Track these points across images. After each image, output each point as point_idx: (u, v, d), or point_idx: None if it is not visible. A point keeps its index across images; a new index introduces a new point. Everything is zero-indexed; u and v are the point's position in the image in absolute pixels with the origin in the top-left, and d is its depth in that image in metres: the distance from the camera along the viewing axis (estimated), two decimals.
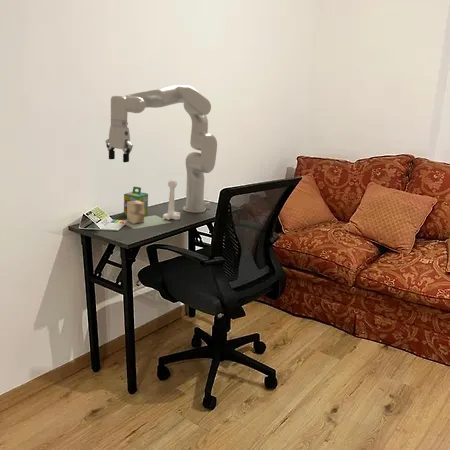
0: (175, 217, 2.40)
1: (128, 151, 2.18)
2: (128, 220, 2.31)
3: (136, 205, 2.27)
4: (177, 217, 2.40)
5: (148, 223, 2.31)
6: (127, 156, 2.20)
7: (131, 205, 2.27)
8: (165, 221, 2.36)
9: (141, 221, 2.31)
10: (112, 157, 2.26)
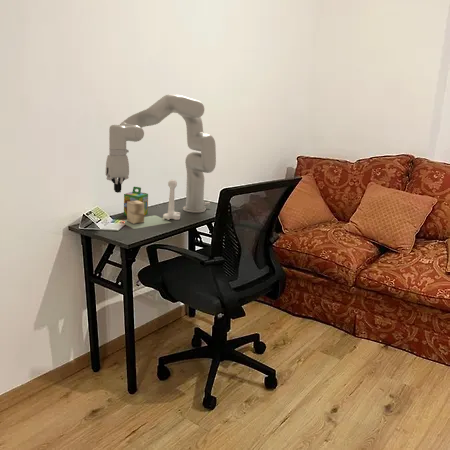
0: (175, 217, 2.40)
1: (123, 180, 2.21)
2: (128, 220, 2.31)
3: (136, 205, 2.27)
4: (177, 217, 2.40)
5: (148, 223, 2.31)
6: None
7: (131, 205, 2.27)
8: (165, 221, 2.36)
9: (141, 221, 2.31)
10: None
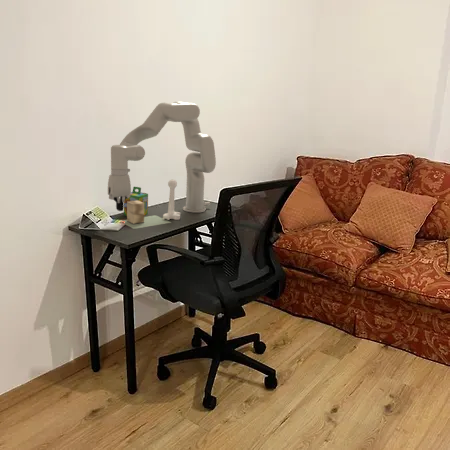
0: (175, 217, 2.40)
1: (125, 199, 2.25)
2: (128, 220, 2.31)
3: (136, 205, 2.27)
4: (177, 217, 2.40)
5: (148, 223, 2.31)
6: None
7: (131, 205, 2.27)
8: (165, 221, 2.36)
9: (141, 221, 2.31)
10: None
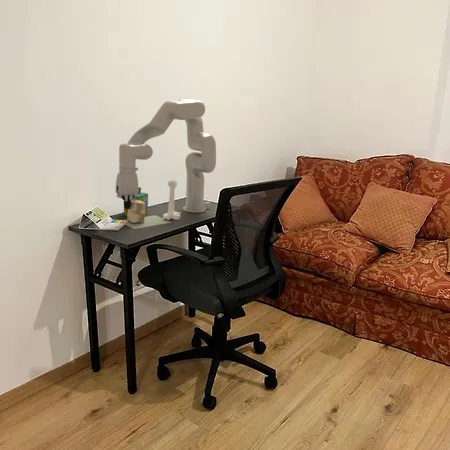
0: (175, 217, 2.40)
1: (132, 197, 2.27)
2: (128, 219, 2.31)
3: (137, 204, 2.27)
4: (177, 217, 2.40)
5: (148, 223, 2.31)
6: None
7: (132, 204, 2.27)
8: (165, 221, 2.36)
9: (141, 221, 2.31)
10: None
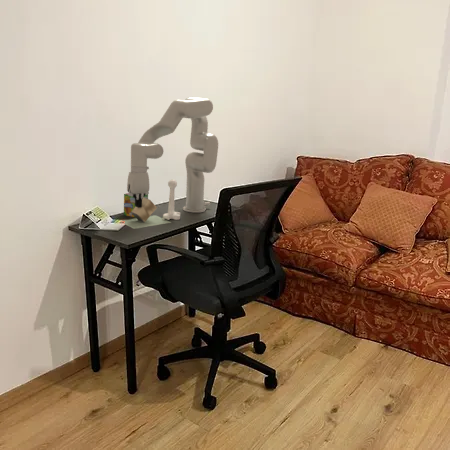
0: (175, 217, 2.40)
1: (143, 196, 2.31)
2: (133, 211, 2.32)
3: (151, 203, 2.32)
4: (177, 217, 2.40)
5: (148, 223, 2.31)
6: None
7: (147, 200, 2.32)
8: (165, 221, 2.36)
9: (143, 219, 2.31)
10: None
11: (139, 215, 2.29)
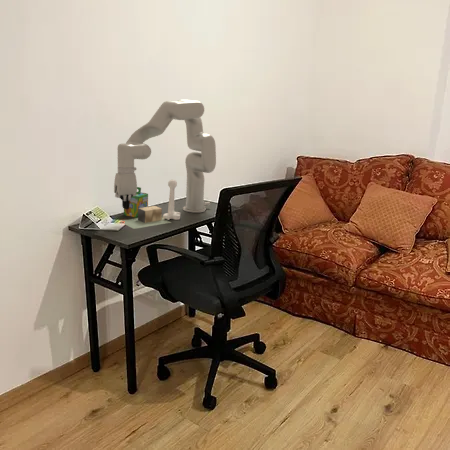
0: (175, 217, 2.40)
1: (131, 197, 2.27)
2: (140, 208, 2.34)
3: (160, 212, 2.36)
4: (177, 217, 2.40)
5: (148, 223, 2.31)
6: None
7: (158, 207, 2.37)
8: (165, 221, 2.36)
9: (145, 219, 2.32)
10: None
11: (145, 213, 2.31)
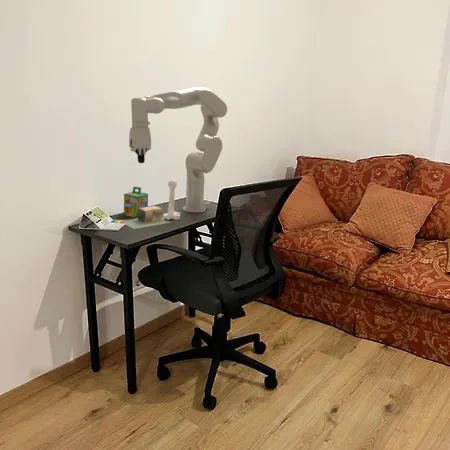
0: (175, 217, 2.40)
1: (146, 151, 2.32)
2: (140, 208, 2.34)
3: (160, 212, 2.36)
4: (177, 217, 2.40)
5: (148, 223, 2.31)
6: None
7: (158, 207, 2.37)
8: (165, 221, 2.36)
9: (145, 219, 2.32)
10: None
11: (145, 213, 2.31)
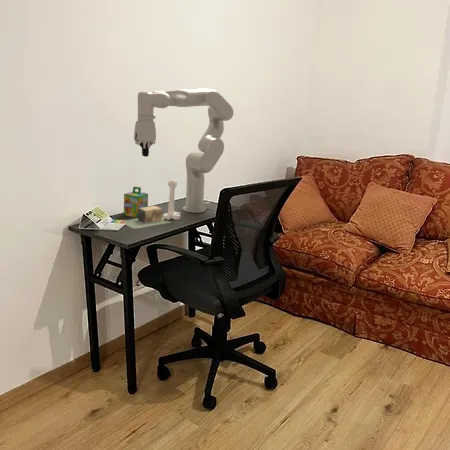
0: (175, 217, 2.40)
1: (150, 145, 2.35)
2: (140, 208, 2.34)
3: (160, 212, 2.36)
4: (177, 217, 2.40)
5: (148, 223, 2.31)
6: None
7: (158, 207, 2.37)
8: (165, 221, 2.36)
9: (145, 219, 2.32)
10: None
11: (145, 213, 2.31)
